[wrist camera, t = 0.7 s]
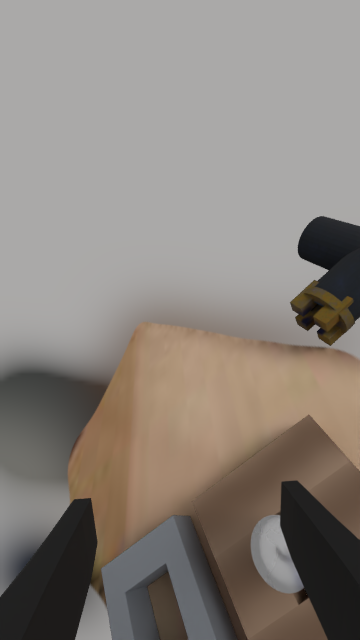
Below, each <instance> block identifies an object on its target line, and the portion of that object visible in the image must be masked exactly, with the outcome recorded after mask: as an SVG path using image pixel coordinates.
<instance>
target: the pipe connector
mask: <svg viewBox="0 0 360 640" xmlns="http://www.w3.org/2000/svg"><path fill="white" fill-rule="evenodd" d="M298 254H299V256H300V257H301V258H302V259H304V260H307V261H309V262H311V263H313V264H316V265H318V266H321V267H323V268H325V269H327V270H329V271H328V272H327V273H326V274H325V275H324V276H323V277H321V279H319V280H318V281H315V280H314V281H313V282H312V283H311V284H310V285H308V286H307V287H306V288H305V289H304V290H303V291H302V292H301V293H300V294H299V295H298V296H297V297H295V298H294V299H293V300H292V301H291V302H290V303H291V307H292V310H293V311H295V312H296V313H298V314H299V315H297V316H296V317H295V318H296V321H297V324H298V325H299V326H301V327H302V328H304V329H305V330H307V331H308V330H309V329H310V328H312V327H313V326H314V325H315V324H316V325H317V326H319V327H321V328H320V329H319V330H318V331H317V334H318V337H319V339H321V340H322V341H324V342H325V343H327V344H329V345H330V346H331V345H332V344H333V343H334V342H335V341H336V340H337V339H338V338H339V337H341V336H342V335H343V334H344V333H346V332H347V331H348V330H349V329H350V328H351V327H352V326H353V325H354V324H355V321H356V320H357V319H358V318H359V317H360V226H356V225H353V224H349V223H346V222H342V221H338V220H335V219H331V218H327V217H324V216H320V217H317V218H315V219H314V220H313V221H311V222H310V223H309V224H308V225H307V227H306V228H305V229H304V231H303V233H302V235H301V237H300V240H299V244H298Z"/></svg>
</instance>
